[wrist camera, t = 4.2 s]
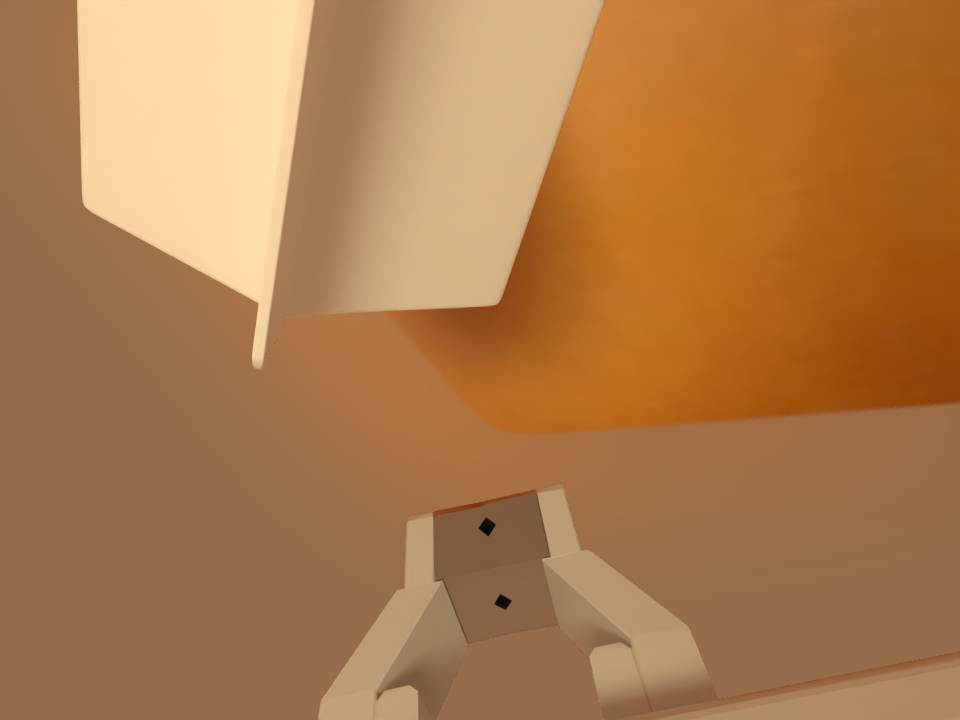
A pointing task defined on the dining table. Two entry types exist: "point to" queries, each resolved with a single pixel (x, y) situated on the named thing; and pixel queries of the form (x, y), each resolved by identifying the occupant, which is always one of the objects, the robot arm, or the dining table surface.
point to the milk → (328, 141)
